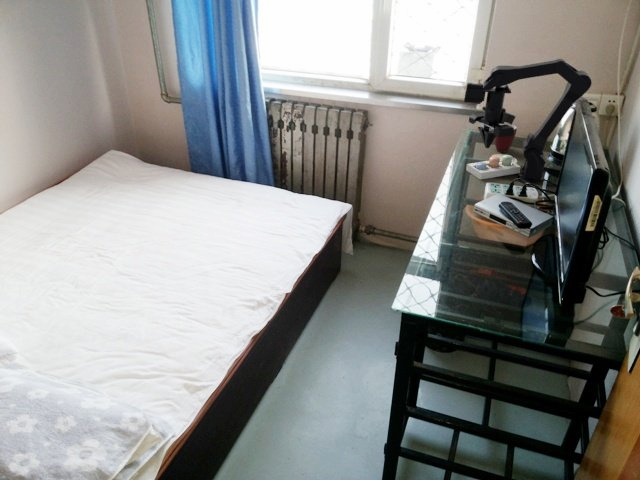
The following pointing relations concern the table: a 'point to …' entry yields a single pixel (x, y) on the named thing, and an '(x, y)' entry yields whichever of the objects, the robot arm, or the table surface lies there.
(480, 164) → the slate button
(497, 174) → the panel
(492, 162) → the terracotta button
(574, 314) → the table surface
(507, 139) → the mug
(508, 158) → the sage button
